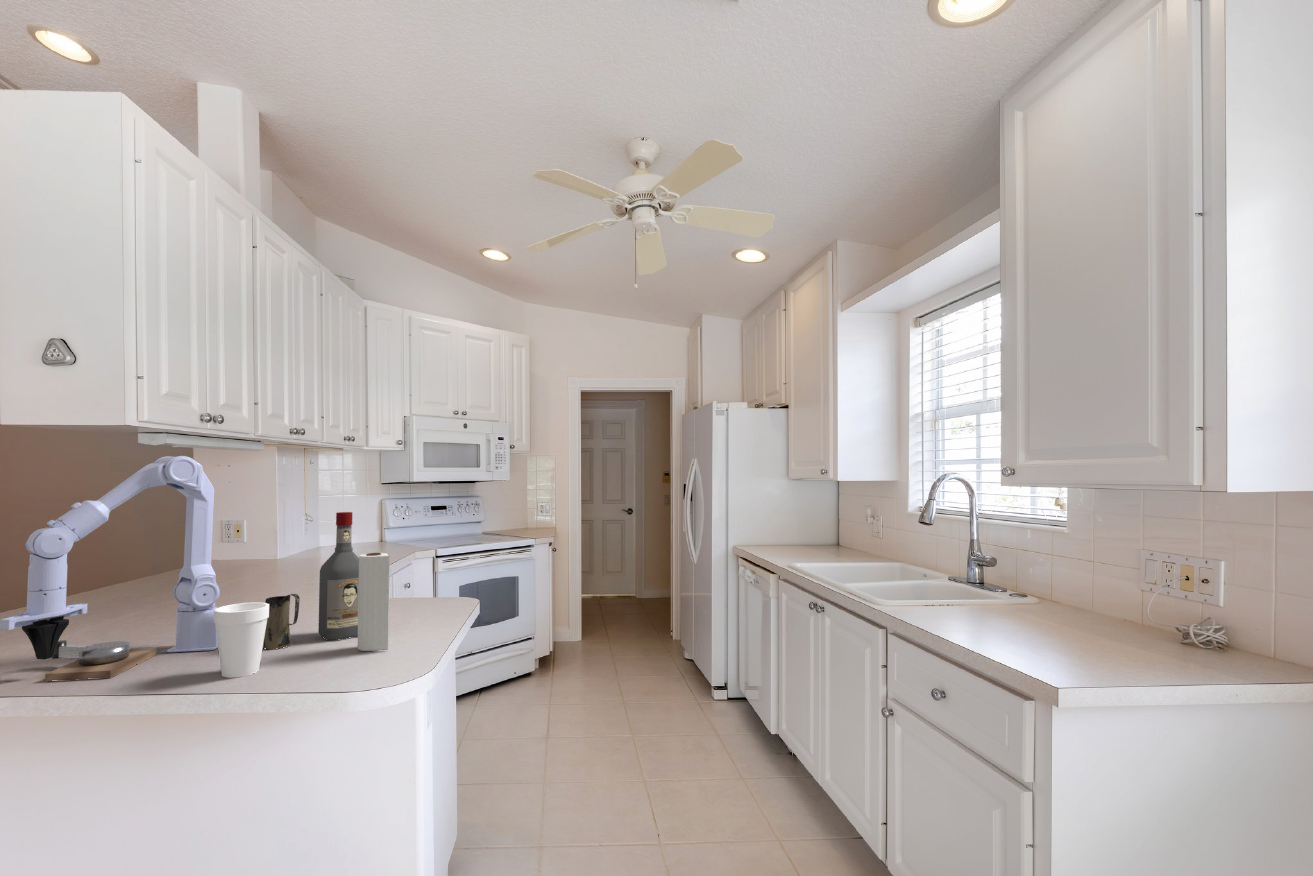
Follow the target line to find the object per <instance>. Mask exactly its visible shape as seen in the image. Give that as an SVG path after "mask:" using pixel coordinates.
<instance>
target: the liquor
mask: <svg viewBox="0 0 1313 876" xmlns="http://www.w3.org/2000/svg"><path fill="white" fill-rule="evenodd" d="M335 514H336V515H335V526H336V532H335V533H336V534H335V536H336V537H335V548H334V552H333V553H332V554H331V555H330V557H328V559H327V560H326V561H325V562H324V563H323V564H322V565H321V567H320V569H319V583H318V585H319V588H318V591H319V592H318V635H319V636H321V637H320V638H322V637H324V638H325V640H326V639H327V640H326V641H339V640H338V639H343V640H347V639H346V638H349V637H354V638H358V637H357V636H358V596H359V556H358V555H357V554H356V553H355V552H354V551H353V550H354V548H353V546H352V537H353V536H352V534H353V532H352V529H353V528H352V527H353V526H352V525H353V512H352V511H342V512H340V511H338V512H336V513H335ZM324 638H323V639H324ZM349 639H350V638H349Z"/></svg>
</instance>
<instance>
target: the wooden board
mask: <svg viewBox="0 0 1313 876" xmlns="http://www.w3.org/2000/svg"><path fill="white" fill-rule="evenodd" d="M154 655H155V656H156V655H157V648H154V647H152V648H129V656H128V657H127V658H124V659H122V660H118V661H114V662H109V663H103V664H93V665H83V664H79V663H78V661H79V659H77V660H74V661H72V662H70V663H68V664H66V665H62V666H61V667H58V668H55V669H54V670H51V671H49V672H46V673H45V674H44V682H45V681H52V680H71V681H77V680H76V679H88V678H107V679H111V677H112V678H114V677H115V676H114V675H116V676H118V675H119V674H118V673H120V672H122V671H124V670H126V671H127V669H128V668H130V669H132V668H133V667H135V666H137V665H140V664H141V663H143V662H145V661H147V660H149V659H151V658H153V657H155V656H154ZM140 662H141V663H140ZM136 664H137V665H136ZM128 670H129V669H128ZM124 672H125V671H124ZM122 673H123V672H122ZM117 674H118V675H117ZM120 674H121V673H120ZM113 676H114V677H113Z"/></svg>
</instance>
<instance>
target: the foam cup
mask: <svg viewBox="0 0 1313 876" xmlns="http://www.w3.org/2000/svg"><path fill="white" fill-rule="evenodd" d="M218 607H219V606H218ZM267 618H269V604H267V603H265V602H241V603H233V604H228V605H223V606H220V607H219V608H216V609H215V611H214V623H215V625H216V633H217V641H218V648H217V649H218V656H219V665H220V671H221V677H223V678H229V679H233V678H242V677H247V676H251V675H254V674H253V673H255V674H257V673H258V672H259V671H260V665H261V660H262V654H263V642H264V636H265V630H266V624H267ZM257 671H258V672H257Z"/></svg>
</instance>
